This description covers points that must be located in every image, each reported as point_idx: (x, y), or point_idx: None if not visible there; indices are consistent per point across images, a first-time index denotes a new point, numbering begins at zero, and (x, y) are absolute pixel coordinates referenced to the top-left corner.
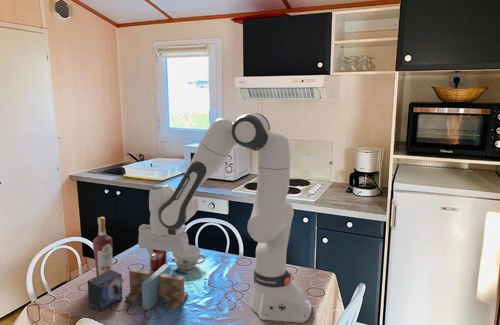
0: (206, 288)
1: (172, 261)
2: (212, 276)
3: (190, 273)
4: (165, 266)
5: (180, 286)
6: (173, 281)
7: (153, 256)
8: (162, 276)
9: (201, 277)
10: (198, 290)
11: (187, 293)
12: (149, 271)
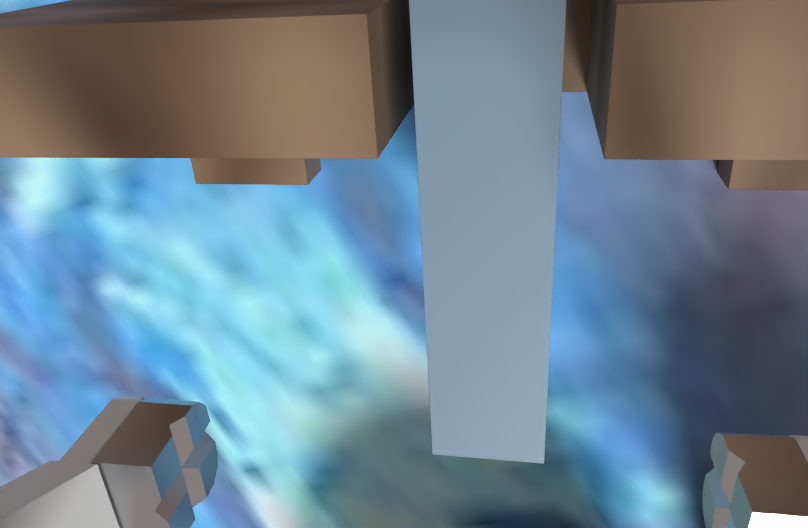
0: (152, 341)
1: (178, 409)
2: (229, 513)
3: (433, 525)
4: (479, 394)
5: (10, 12)
6: (86, 19)
7: (744, 494)
8: (294, 28)
9: (302, 485)
10: (193, 293)
11: (196, 173)
12: (695, 133)
